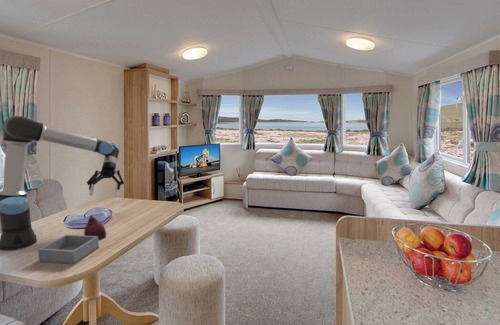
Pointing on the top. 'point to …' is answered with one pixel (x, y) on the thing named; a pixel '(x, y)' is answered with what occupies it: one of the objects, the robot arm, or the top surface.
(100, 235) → the vegetable
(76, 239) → the slate bin
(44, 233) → the top surface
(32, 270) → the top surface
